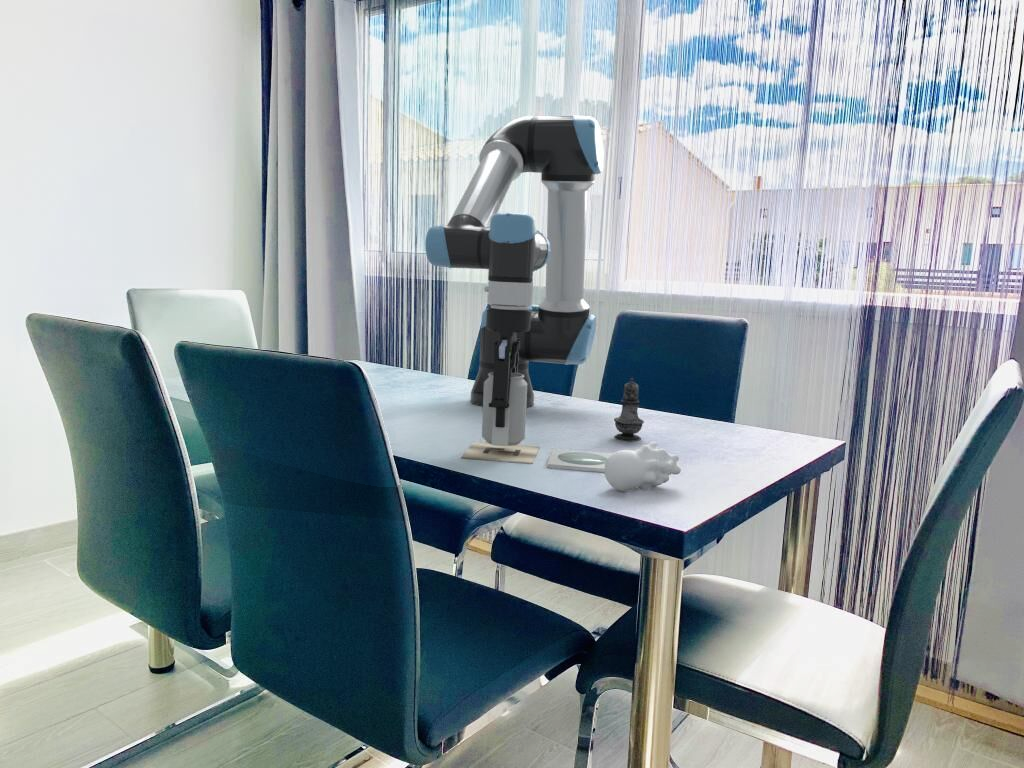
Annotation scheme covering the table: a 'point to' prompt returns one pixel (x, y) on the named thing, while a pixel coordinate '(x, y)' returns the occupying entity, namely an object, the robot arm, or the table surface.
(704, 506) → the table surface
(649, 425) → the table surface
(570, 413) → the table surface
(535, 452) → the tile
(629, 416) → the salt shaker
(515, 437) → the can
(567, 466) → the coaster
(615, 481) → the figurine
